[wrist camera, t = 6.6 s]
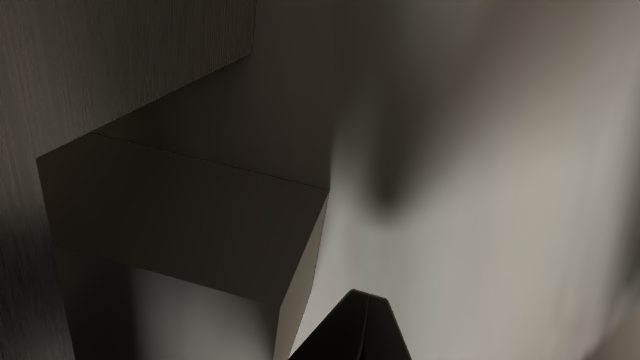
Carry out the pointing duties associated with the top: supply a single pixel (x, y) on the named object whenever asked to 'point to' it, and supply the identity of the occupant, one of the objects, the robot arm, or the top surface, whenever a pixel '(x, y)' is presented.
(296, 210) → the plug
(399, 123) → the top surface
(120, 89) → the housing
